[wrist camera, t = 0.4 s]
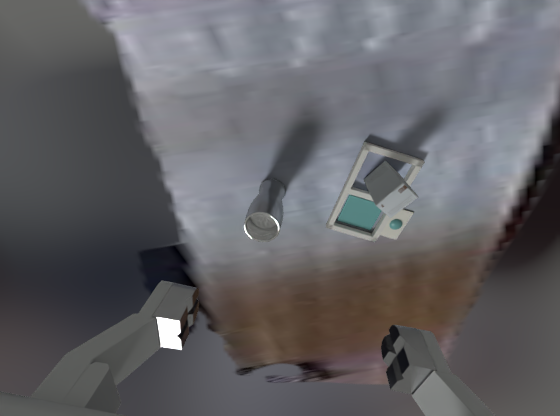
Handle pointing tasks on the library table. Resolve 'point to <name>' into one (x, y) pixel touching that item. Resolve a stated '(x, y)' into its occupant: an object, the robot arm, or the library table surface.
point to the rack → (365, 210)
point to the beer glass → (266, 212)
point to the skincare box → (389, 189)
